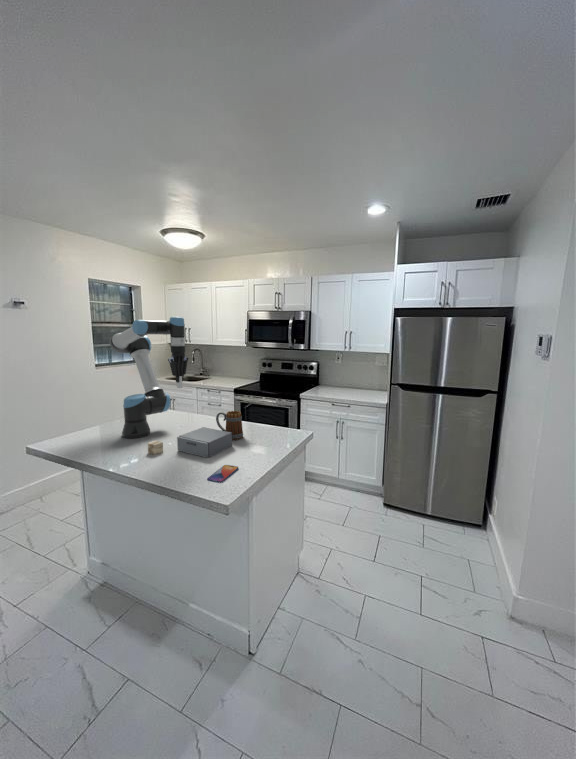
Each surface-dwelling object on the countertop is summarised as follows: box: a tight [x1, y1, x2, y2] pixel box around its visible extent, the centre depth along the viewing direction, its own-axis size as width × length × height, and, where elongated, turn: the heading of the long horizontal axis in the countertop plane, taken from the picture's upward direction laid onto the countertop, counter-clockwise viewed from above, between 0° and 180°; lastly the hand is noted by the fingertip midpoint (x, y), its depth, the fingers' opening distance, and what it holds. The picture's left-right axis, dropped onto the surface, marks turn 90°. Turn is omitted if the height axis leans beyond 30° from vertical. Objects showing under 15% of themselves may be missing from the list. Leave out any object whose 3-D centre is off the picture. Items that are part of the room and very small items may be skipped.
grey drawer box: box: [178, 426, 233, 458], centre depth 167 cm, size 18×20×8 cm
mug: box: [215, 410, 244, 441], centre depth 184 cm, size 16×11×15 cm
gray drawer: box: [176, 436, 210, 458], centre depth 165 cm, size 17×20×7 cm
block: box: [147, 440, 164, 456], centre depth 160 cm, size 5×5×5 cm
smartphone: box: [206, 464, 239, 484], centre depth 137 cm, size 7×15×1 cm, turn 161°
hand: (179, 387), depth 178 cm, fingers closed
